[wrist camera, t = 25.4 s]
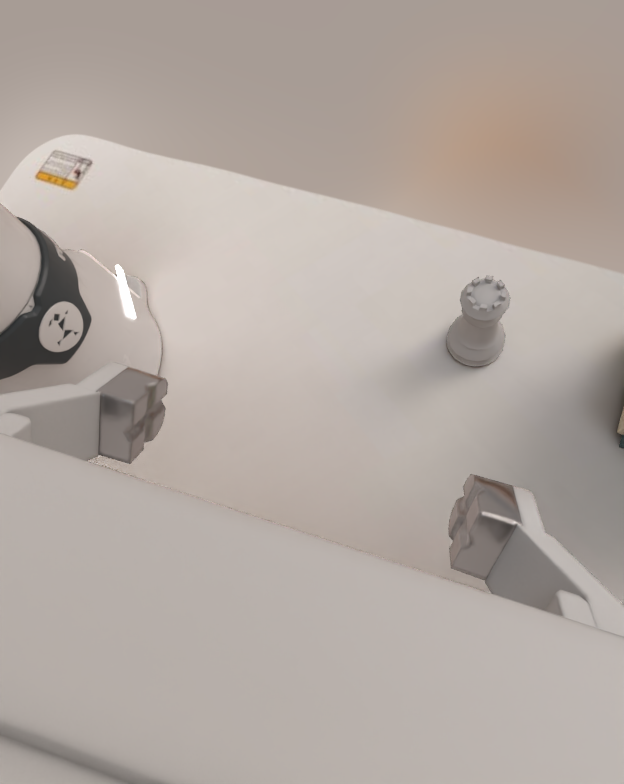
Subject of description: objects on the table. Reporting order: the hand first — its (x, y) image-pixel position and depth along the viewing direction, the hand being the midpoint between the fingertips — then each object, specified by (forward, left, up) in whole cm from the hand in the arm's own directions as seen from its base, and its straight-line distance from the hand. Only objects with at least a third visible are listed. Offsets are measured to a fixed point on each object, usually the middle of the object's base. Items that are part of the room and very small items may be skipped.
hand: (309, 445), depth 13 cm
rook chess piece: (+2, +17, -26) cm, 31 cm away
